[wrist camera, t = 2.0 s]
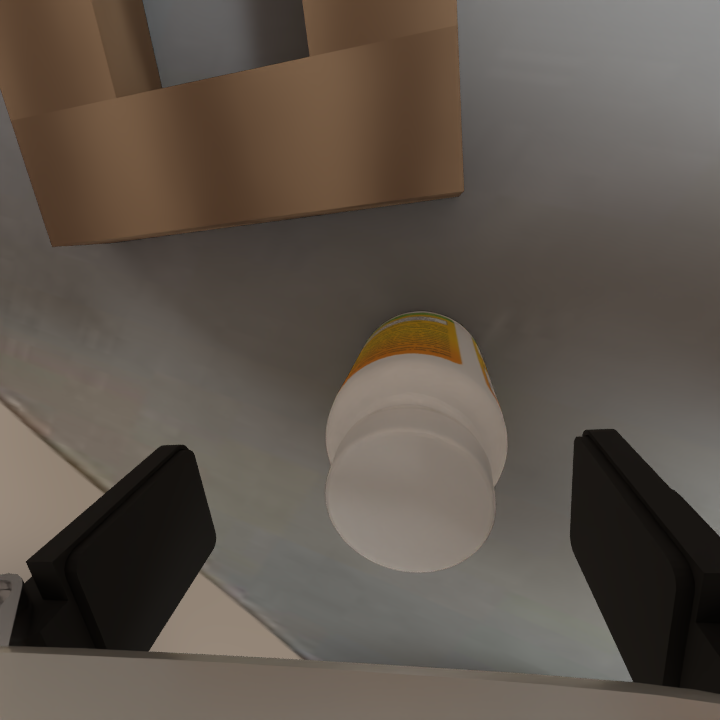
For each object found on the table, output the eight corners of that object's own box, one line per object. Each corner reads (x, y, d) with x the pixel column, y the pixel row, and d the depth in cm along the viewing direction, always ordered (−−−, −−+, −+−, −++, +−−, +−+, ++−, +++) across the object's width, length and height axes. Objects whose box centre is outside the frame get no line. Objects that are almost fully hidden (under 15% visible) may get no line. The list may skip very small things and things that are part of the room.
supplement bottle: (338, 371, 19) (252, 503, 10) (415, 283, 17) (393, 349, 8) (425, 443, 20) (416, 631, 11) (509, 364, 18) (586, 511, 9)
